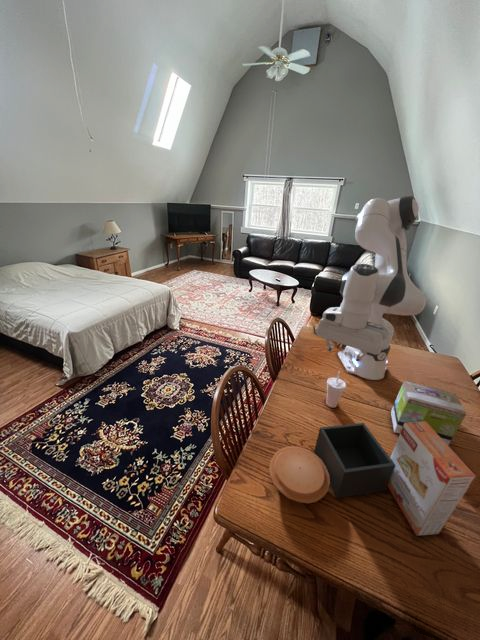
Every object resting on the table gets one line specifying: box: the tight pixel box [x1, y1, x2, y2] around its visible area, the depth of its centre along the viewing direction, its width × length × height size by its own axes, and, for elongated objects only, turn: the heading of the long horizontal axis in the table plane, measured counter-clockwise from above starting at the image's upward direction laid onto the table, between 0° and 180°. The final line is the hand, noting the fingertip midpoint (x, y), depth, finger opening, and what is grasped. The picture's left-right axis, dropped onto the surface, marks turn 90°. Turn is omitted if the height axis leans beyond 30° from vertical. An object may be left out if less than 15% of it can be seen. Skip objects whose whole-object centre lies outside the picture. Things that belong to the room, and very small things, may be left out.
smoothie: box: [325, 371, 347, 409], centre depth 95 cm, size 6×6×14 cm
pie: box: [268, 445, 331, 505], centre depth 70 cm, size 16×16×5 cm
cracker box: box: [386, 422, 476, 537], centre depth 62 cm, size 14×6×21 cm, turn 5°
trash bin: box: [313, 422, 395, 499], centre depth 72 cm, size 14×14×10 cm
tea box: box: [390, 380, 467, 446], centre depth 85 cm, size 15×10×15 cm, turn 68°
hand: (343, 355), depth 89 cm, fingers open, 8 cm apart
